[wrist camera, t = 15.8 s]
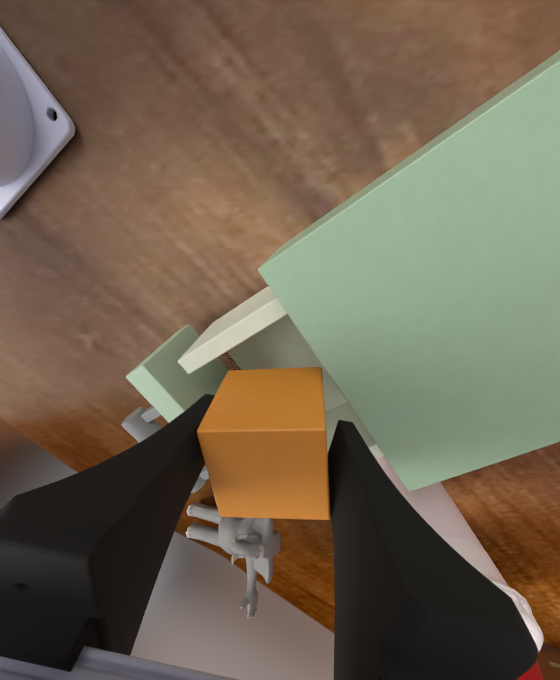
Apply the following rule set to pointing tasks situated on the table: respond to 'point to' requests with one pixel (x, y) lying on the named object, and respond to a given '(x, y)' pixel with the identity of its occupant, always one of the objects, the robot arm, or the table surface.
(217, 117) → the table surface
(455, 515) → the smoothie
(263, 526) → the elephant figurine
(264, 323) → the drawer
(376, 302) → the sage green box
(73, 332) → the table surface
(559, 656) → the food container
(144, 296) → the table surface
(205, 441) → the orange cube
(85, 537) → the robot arm
